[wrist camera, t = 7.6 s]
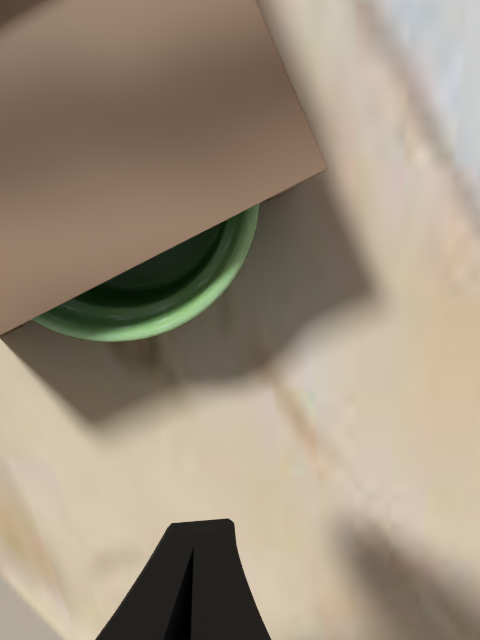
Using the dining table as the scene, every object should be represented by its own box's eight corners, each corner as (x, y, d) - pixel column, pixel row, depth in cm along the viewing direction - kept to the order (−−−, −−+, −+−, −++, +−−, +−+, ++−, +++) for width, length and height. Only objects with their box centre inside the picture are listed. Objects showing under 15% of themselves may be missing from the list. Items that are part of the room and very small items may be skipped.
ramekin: (301, 179, 16) (325, 164, 12) (162, 357, 18) (139, 399, 14) (106, 13, 15) (56, -69, 11) (-26, 220, 17) (-117, 219, 12)
